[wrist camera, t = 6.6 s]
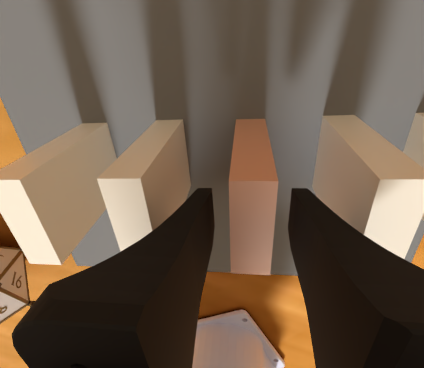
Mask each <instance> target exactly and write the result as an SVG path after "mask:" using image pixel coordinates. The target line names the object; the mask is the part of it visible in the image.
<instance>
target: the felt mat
mask: <svg viewBox="0 0 424 368" xmlns="http://www.w3.org/2000/svg"><path fill="white" fill-rule="evenodd" d="M0 98H1V100H2V102H3V104H4V106H5V108H6V111H7V113H8V115H9V117H10V119H11V122H12V124H13V126H14V128H15V130H16V133H17V135H18V137H19V139H20V141H21V144H22V146H23V148H24V150H25V152H26V155H27V154H28V153H30V152H32V151H34V150H36V149H37V148H39V147H41V146H43V145H44V144H46V143H48V142H50V141H52V140H53V139H55V138H57V137H59V136H61V135H62V134H64V133H66V132H68V131H69V130H71V129H73V128H75V127H77V126H78V125H80V124H82V123H107V124H108V128H109V132H110V136H111V139H112V143H113V147H114V150H115V154H116V158H118V157H119V156H120V155H121V154H122V153H123V152H124V151H125V150H126V149H127V148H128V147H129V146H130V145H131V144H132V143H134V142H135V141H136V140H137V139H138V138H139V137H140V136H141V135H142V134H143V133H144V132H145V131H146V130H147V129H148V128H149V127H150V126H151V125H152V124H153V123H154V122H155V121H156V120H181V119H183V124H184V132H185V140H186V149H187V157H188V165H189V173H190V181H191V187H190V190H189V193H188V195H187V198H186V200H187V199H188V198H189V197H190V196H191V194H192V193H193V192H194V191H195V190H196V189H197V188H212V195H213V209H214V222H215V229H214V239H213V247H212V252H211V256H210V260H209V265H208V269H207V271H208V272H230V273H231V262H230V216H229V174H230V166H231V157H232V149H233V140H234V132H235V124H236V119H265V121H266V125H267V130H268V135H269V139H270V144H271V149H272V153H273V158H274V163H275V168H276V172H277V177H278V192H277V203H276V215H275V226H274V238H273V249H272V260H271V272H270V274H274V275H296V276H298V274H297V271H296V267H295V263H294V260H293V256H292V252H291V248H290V241H289V234H288V220H289V210H290V200H291V191H292V188H308V189H309V190H310V191H311V192H312V193H313V194H314V195H315V196H316V194H315V192H314V189H313V187H312V184H313V178H314V171H315V164H316V157H317V151H318V144H319V137H320V130H321V124H322V117H323V116H333V115H355V116H357V117H358V118H359V119H360V120H362V121H363V122H364V123H366V124H367V125H368V126H369V127H371V128H372V129H373V130H375V131H376V132H377V133H379V134H380V135H381V136H382V137H384V138H385V139H386V140H388V141H389V142H390V143H391V144H393V145H394V146H395V147H397V148H398V149H399V150H401V151H402V152H403V150H404V147H405V144H406V141H407V138H408V135H409V132H410V129H411V126H412V123H413V120H414V117H415V114H416V113H424V0H0ZM423 235H424V220H423V219H421V221H420V223H419V226H418V228H417V230H416V233H415V235H414V238H413V240H412V242H411V245H410V247H409V249H408V252H407V254H406V257H405V260H407V261H408V262H410V263H411V262H412V259H413V257H414V255H415V253H416V250H417V248H418V246H419V244H420V241H421V239H422V237H423ZM119 252H121V251H120V248H119V245H118V242H117V239H116V236H115V233H114V230H113V227H112V224H111V221H110V218H109V215H108V212H107V208H106V210H105V211H104V212H103V213H102V215H101V216H100V217H99V218H98V220H97V221H96V222H95V223H94V225H93V226H92V227H91V229H90V230H89V231H88V232H87V234H86V235H85V236H84V237H83V239H82V240H81V241H80V242H79V244H78V245H77V246H76V247H75V249H74V250H73V251H72V256H73V258H74V260H75V262H76V264H77V266H94V265H96V264H98V263H100V262H102V261H104V260H106V259H108V258H110V257H112V256H114V255H116V254H117V253H119Z"/></svg>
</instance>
